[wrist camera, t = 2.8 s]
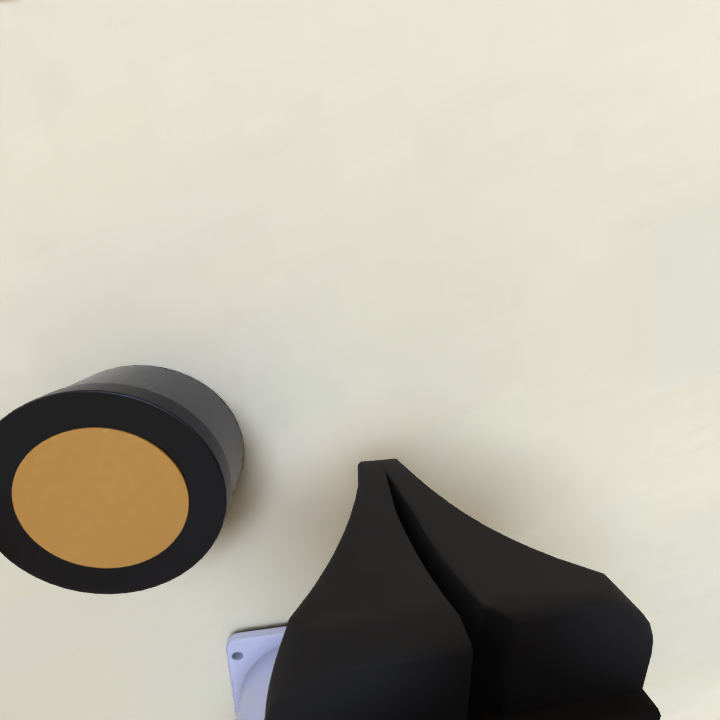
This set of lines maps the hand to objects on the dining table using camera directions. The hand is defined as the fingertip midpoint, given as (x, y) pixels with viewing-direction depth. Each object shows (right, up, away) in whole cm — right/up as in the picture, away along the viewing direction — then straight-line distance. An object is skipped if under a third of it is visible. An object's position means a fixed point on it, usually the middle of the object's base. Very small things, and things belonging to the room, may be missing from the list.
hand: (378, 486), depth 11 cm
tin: (-9, +1, +3) cm, 10 cm away
